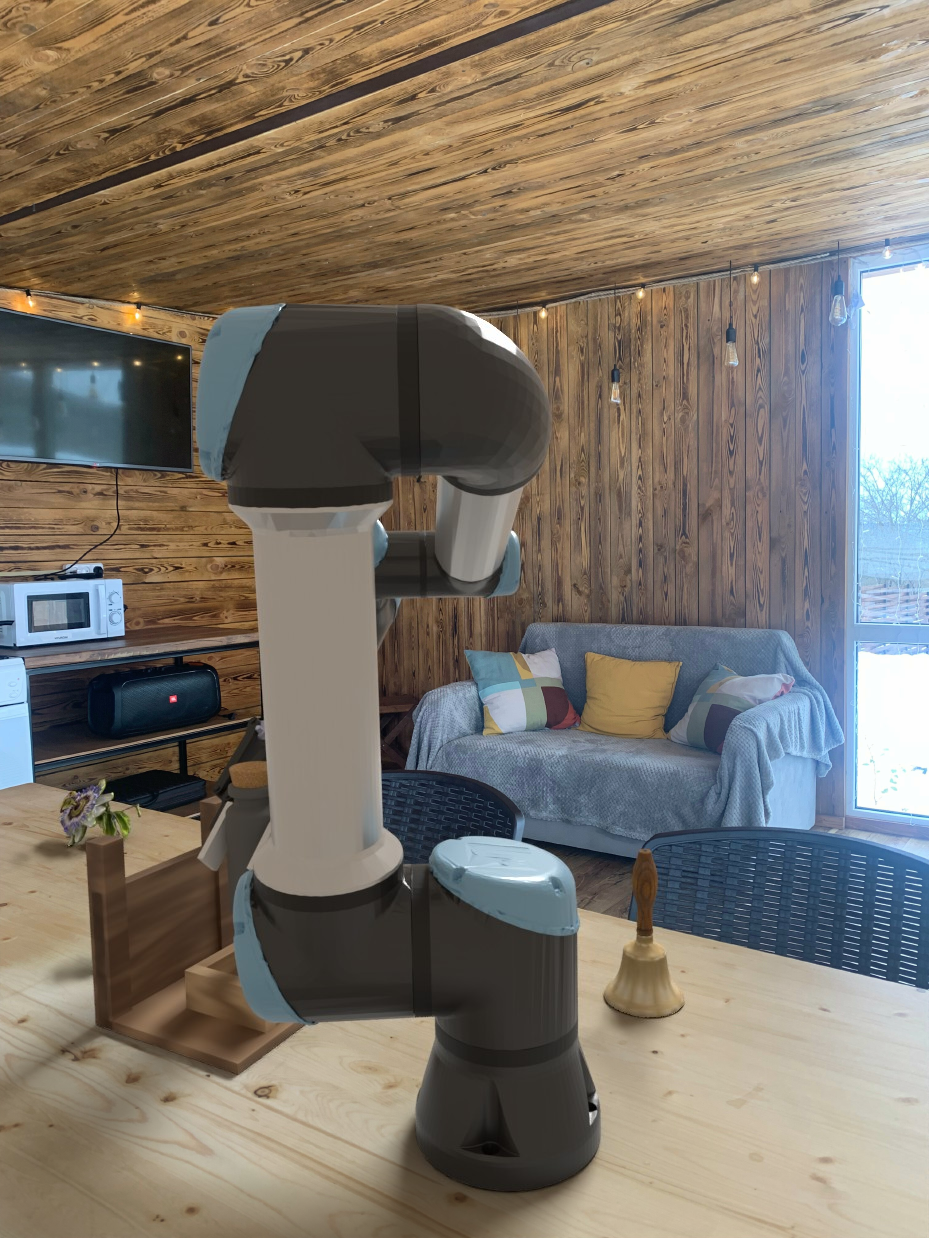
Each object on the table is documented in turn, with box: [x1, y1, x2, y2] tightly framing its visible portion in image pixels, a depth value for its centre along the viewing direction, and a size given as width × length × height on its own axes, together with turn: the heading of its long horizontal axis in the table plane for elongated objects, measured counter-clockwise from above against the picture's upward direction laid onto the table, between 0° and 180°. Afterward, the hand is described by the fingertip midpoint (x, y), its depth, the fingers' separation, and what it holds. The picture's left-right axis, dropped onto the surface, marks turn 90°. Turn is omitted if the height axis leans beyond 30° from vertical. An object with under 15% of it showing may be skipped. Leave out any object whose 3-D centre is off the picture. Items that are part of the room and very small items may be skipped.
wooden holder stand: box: [84, 795, 306, 1075], centre depth 95 cm, size 19×18×19 cm
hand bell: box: [603, 848, 685, 1019], centre depth 96 cm, size 8×8×16 cm
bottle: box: [225, 761, 270, 914], centre depth 95 cm, size 6×6×15 cm
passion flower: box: [57, 778, 142, 846], centre depth 151 cm, size 11×11×12 cm
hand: (231, 869), depth 92 cm, fingers closed on bottle, 6 cm apart
